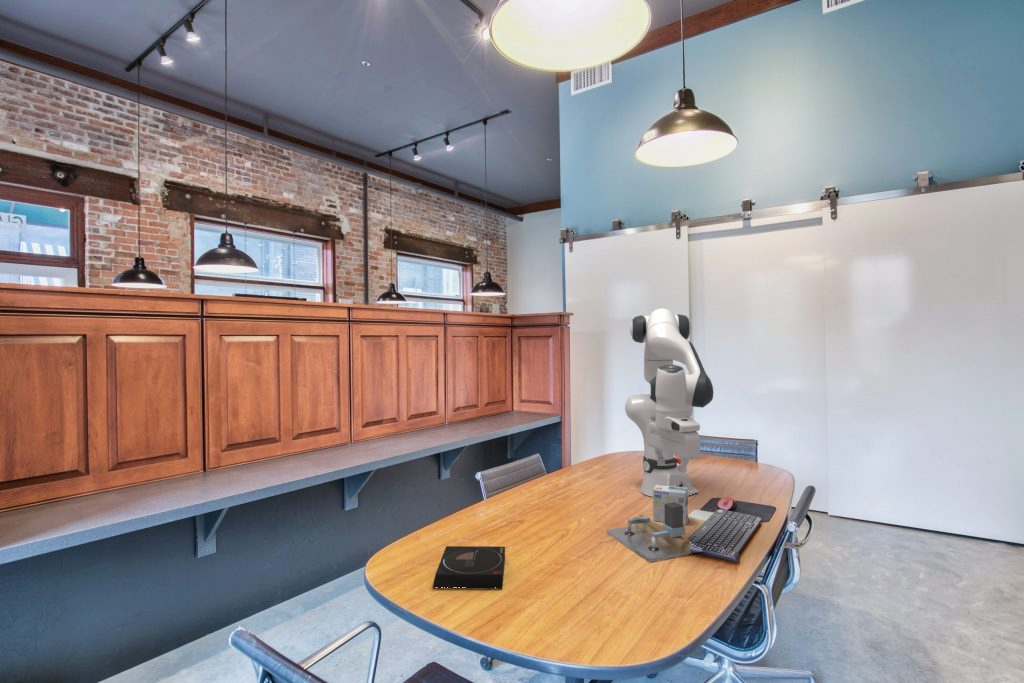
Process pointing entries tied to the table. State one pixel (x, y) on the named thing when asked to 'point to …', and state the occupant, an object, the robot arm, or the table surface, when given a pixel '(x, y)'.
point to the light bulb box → (669, 501)
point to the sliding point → (671, 523)
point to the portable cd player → (471, 567)
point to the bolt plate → (644, 544)
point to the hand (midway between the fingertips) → (671, 467)
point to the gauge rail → (652, 527)
